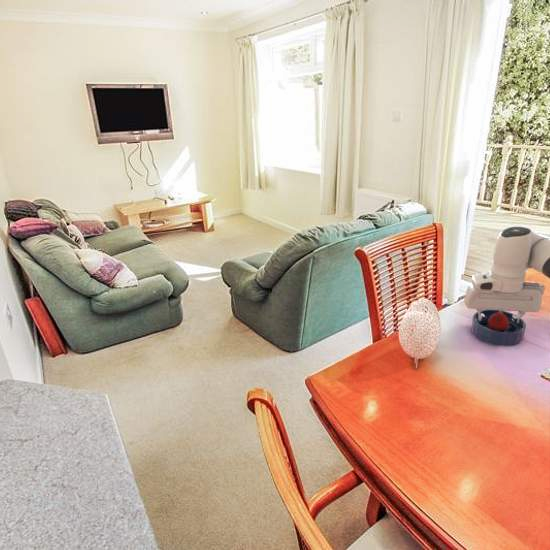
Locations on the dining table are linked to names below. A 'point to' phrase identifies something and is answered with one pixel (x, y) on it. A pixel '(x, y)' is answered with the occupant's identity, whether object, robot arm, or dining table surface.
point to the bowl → (495, 337)
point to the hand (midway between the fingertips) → (497, 321)
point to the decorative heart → (420, 329)
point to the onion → (498, 322)
